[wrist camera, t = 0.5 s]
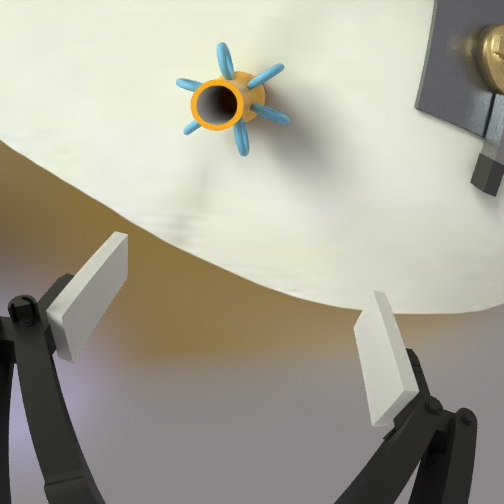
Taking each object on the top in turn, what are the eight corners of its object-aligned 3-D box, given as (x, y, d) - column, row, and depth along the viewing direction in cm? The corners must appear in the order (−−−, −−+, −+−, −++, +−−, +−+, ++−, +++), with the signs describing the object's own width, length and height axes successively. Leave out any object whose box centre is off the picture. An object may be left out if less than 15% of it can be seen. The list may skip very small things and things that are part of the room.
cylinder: (306, 76, 33) (321, 73, 21) (272, 152, 39) (266, 193, 26) (208, 41, 32) (167, 21, 19) (179, 118, 37) (127, 141, 24)
